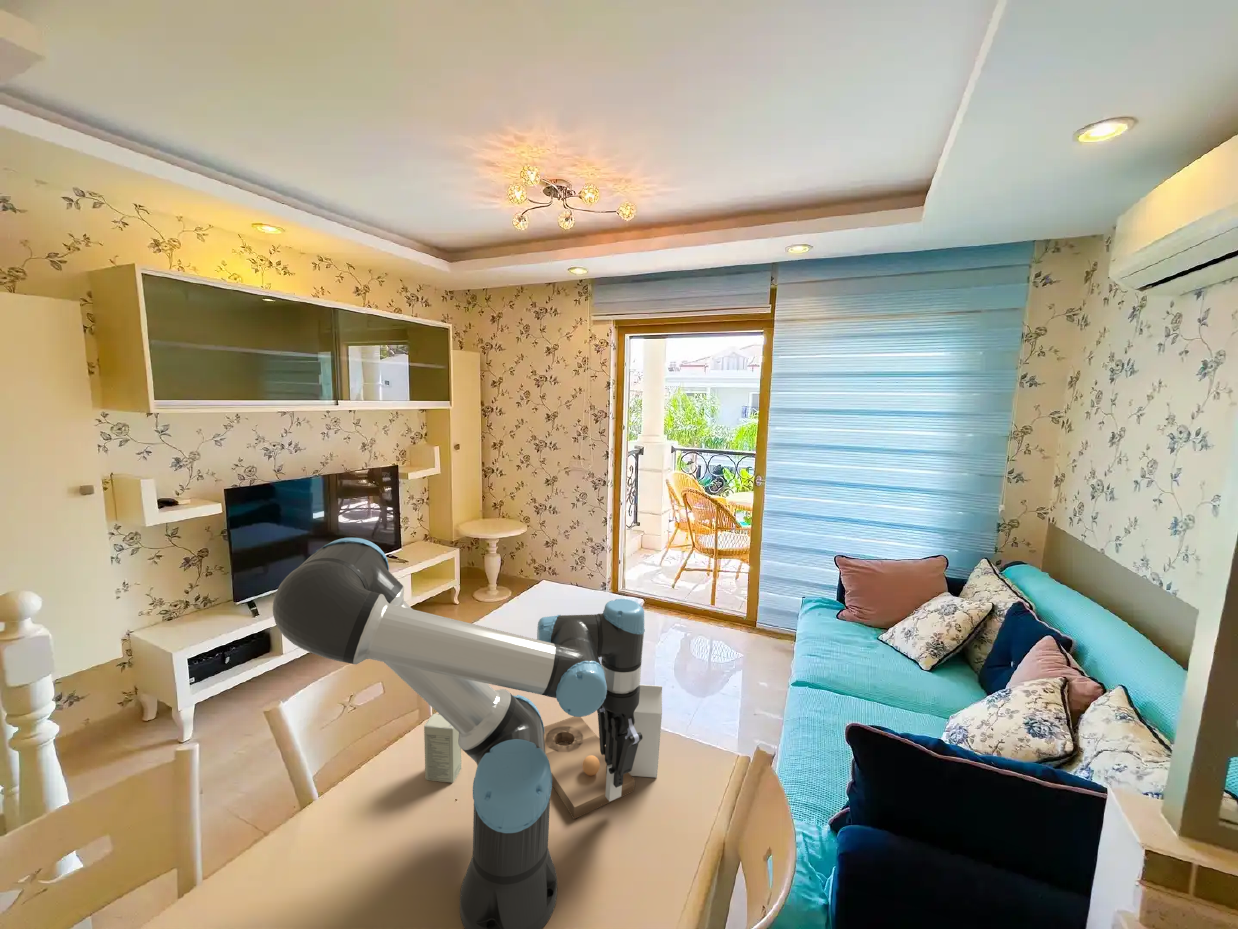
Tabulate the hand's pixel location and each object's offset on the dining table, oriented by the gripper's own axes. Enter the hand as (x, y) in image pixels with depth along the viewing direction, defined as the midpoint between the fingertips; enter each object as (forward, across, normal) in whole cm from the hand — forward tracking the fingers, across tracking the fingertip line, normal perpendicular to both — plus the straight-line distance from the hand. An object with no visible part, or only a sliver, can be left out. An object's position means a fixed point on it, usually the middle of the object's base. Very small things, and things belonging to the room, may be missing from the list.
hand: (613, 796), depth 97 cm
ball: (-1, +8, 0) cm, 9 cm away
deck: (+4, +14, 0) cm, 15 cm away
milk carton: (+4, +8, -12) cm, 15 cm away
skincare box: (+4, +26, +26) cm, 37 cm away
